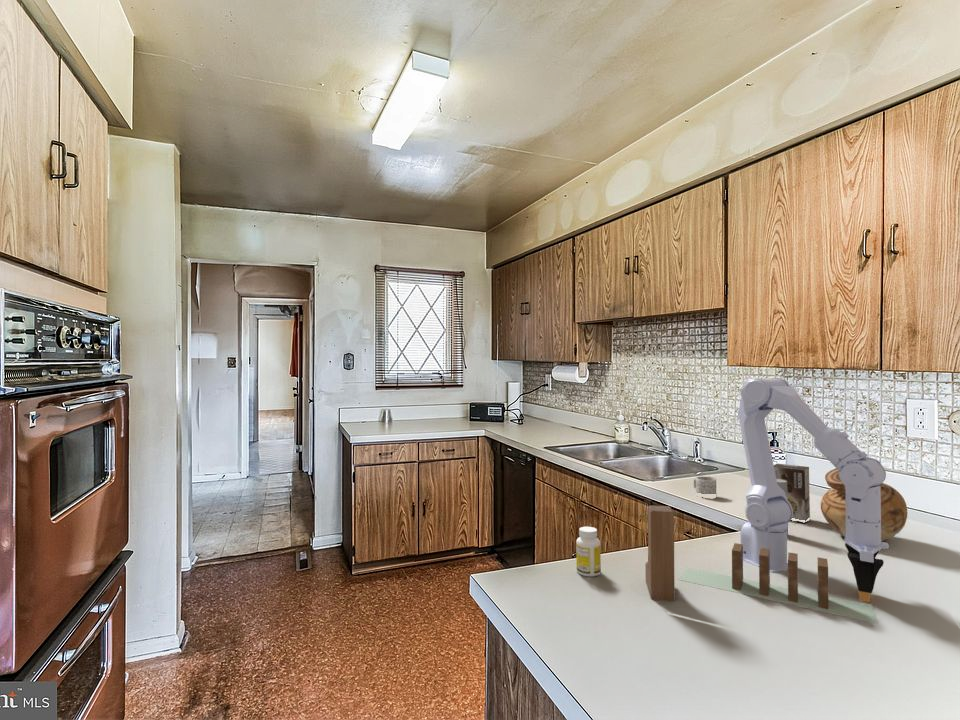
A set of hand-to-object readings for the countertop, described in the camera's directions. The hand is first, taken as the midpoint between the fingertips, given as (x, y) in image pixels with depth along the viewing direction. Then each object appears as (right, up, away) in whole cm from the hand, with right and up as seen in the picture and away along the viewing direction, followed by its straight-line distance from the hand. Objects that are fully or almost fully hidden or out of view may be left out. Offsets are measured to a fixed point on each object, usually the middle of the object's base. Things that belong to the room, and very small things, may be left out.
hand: (863, 586), depth 101 cm
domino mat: (-18, -2, +2) cm, 18 cm away
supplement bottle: (-53, -3, +13) cm, 54 cm away
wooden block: (-40, -3, +3) cm, 41 cm away
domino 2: (-19, -2, +3) cm, 19 cm away
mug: (+3, -4, +81) cm, 81 cm away
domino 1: (-23, -2, +5) cm, 23 cm away
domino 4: (-10, -2, -3) cm, 11 cm away
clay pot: (+27, -3, +35) cm, 44 cm away
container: (+6, -3, +39) cm, 39 cm away
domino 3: (-14, -2, 0) cm, 15 cm away
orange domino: (0, -2, 0) cm, 2 cm away
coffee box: (+18, -3, +53) cm, 56 cm away
